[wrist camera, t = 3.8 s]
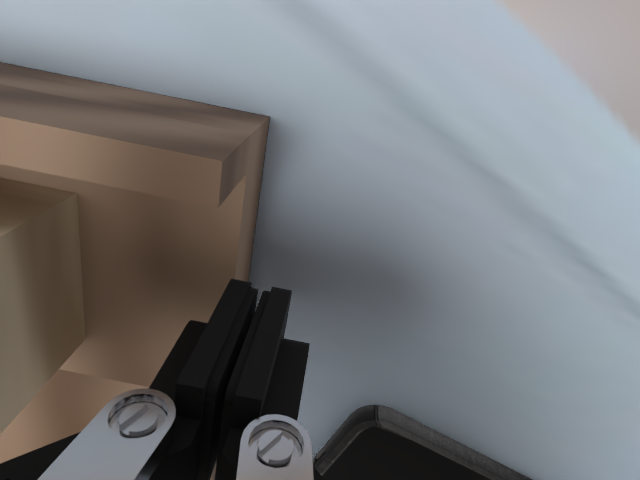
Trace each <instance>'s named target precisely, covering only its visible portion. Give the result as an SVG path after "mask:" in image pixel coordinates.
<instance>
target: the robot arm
mask: <svg viewBox="0 0 640 480" xmlns="http://www.w3.org/2000/svg"><path fill="white" fill-rule="evenodd" d="M257 294H258V289H254V288H251V282H246V281H241V280H236V279H231V280H230V281H229V283H228V285H227V287H226V289H225V291H224V293H223V294H222V296H221V298H220V300H219V302H218V304H217V306H216V308H215V310H214V312H213V313H212V315H211V317H210V319H209V321H208V323H205V322H200V321H195V320H190V321H189V322H188V323H187V325H186V326H185V328H184V330H183V331H182V333H181V335H180V336H179V338H178V340H177V342H176V343H175V345H174V347H173V348H172V350H171V352H170V353H169V355H168V357H167V358H166V360H165V362H164V363H163V365H162V367H161V368H160V370H159V372H158V373H157V375H156V377H155V379H154V380H153V382H152V384H151V385H150V387H149V388H142V389H134V390H130V391H126V392H124V393H122V394H120V395H118V396H116V397H114V398H113V399H112V400H111V401H109V402H108V403H107V404H106V405H105V406H104V407H103V408H102V409H101V411H100V412H99V413H98V414H97V415H96V416H95V417H94V418H93V419H92V420H91V422H90V423H89V424H88V425H87V426H86V427H85V428H84V429H83V430H82V431H81V432H79V433H76V434H74V435H71V436H69V437H66V438H64V439H61V440H58V441H56V442H53V443H51V444H48V445H46V446H43V447H41V448H38V449H36V450H33V451H31V452H28V453H26V454H23V455H21V456H18V457H15V458H13V459H10V460H8V461H5V462H3V463H0V480H210V478H211V475H212V472H213V469H214V466H215V463H216V460H217V463H216V472H215V480H325V479H324V478H323V477H322V476H321V474H320V473H319V472H318V471H317V470H316V468H315V467H314V466H313V459H312V444H311V440H310V436H309V434H308V432H307V431H306V429H305V428H304V427H303V426H302V425H301V424H300V423H299V422H298V421H297V418H298V412H299V406H300V400H301V394H302V388H303V381H304V375H305V369H306V363H307V357H308V351H309V345H310V344H309V343H304V342H299V341H294V340H289V339H284V333H285V327H286V322H287V316H288V311H289V305H290V300H291V294H292V291H291V290H286V289H281V288H276V287H272V289H271V292H269V291H263V293H262V296H261V298H260V301H259V304H258V306H257V309H256V312H255V308H256V301H257Z"/></svg>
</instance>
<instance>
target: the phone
mask: <svg viewBox="0 0 640 480" xmlns="http://www.w3.org/2000/svg"><path fill="white" fill-rule="evenodd" d="M343 427H344V429H343V430H342V428H343ZM325 451H326V452H325ZM324 452H325V454H324V455H323V453H324ZM322 455H323V456H322ZM321 456H322V457H321ZM320 457H321V458H320ZM319 458H320V459H319ZM318 459H319V461H318V462H317V460H318ZM313 466H314V467H315V468H316V470H317V471H318V472H319V473H320V474H321V476H322V477H323V478H324V479H325V480H532V479H530V478H528V477H526V476H524V475H522V474H520V473H518V472H516V471H514V470H512V469H510V468H508V467H506V466H504V465H502V464H500V463H498V462H496V461H494V460H492V459H490V458H488V457H486V456H484V455H482V454H480V453H478V452H476V451H474V450H472V449H470V448H468V447H466V446H464V445H462V444H460V443H458V442H456V441H454V440H452V439H450V438H448V437H446V436H444V435H442V434H441V433H439V432H437V431H435V430H433V429H431V428H429V427H427V426H425V425H423V424H421V423H419V422H417V421H415V420H413V419H411V418H409V417H407V416H405V415H403V414H401V413H399V412H397V411H395V410H393V409H390V408H388V407H385V406H379V405H370V406H364V407H362V408H359V409H357V410H356V411H354V412H353V413H352V414H351V415H350V416H349V417H348V418H347V420H346V421H345V422H344V423H343V424H342V426H341V427H340V428H339V429H338V430H337V431H336V433H335V434H334V435H333V436H332V437H331V439H330V440H329V441H328V442H327V443H326V444H325V446H324V447H323V448H322V449H321V450H320V451H319V453H318V454H317V455H316V456H315V457H314V459H313Z"/></svg>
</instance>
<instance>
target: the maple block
mask: <svg viewBox="0 0 640 480" xmlns="http://www.w3.org/2000/svg"><path fill="white" fill-rule="evenodd" d="M84 340H85V322H84V305H83V287H82V270H81V253H80V236H79V219H78V202H77V193H75V192H70V191H66V190H61V189H56V188H51V187H46V186H41V185H36V184H31V183H26V182H21V181H16V180H11V179H6V178H1V177H0V434H1V433H2V432H3V431H4V430H5V429H6V428H7V426H8V425H9V424H10V423H11V422H12V421H13V420H14V419H15V417H16V416H17V415H18V414H19V413H20V412H21V411H22V410H23V409H24V407H25V406H26V405H27V404H28V403H29V402H30V401H31V400H32V398H33V397H34V396H35V395H36V394H37V393H38V392H39V391H40V390H41V388H42V387H43V386H44V385H45V384H46V383H47V382H48V381H49V379H50V378H51V377H52V376H53V375H54V374H55V373H56V372H57V371H58V369H59V368H60V367H61V366H62V365H63V364H64V363H65V362H66V360H67V359H68V358H69V357H70V356H71V355H72V354H73V353H74V352H75V350H76V349H77V348H78V347H79V346H80V345H81V344H82V343H83V341H84Z"/></svg>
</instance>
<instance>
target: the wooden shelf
mask: <svg viewBox="0 0 640 480" xmlns="http://www.w3.org/2000/svg"><path fill="white" fill-rule="evenodd" d="M269 119H270V117H269V116H264V115H259V114H254V113H249V112H244V111H239V110H234V109H229V108H224V107H219V106H214V105H209V104H204V103H199V102H194V101H189V100H184V99H179V98H175V97H170V96H165V95H160V94H155V93H150V92H145V91H140V90H135V89H130V88H125V87H120V86H115V85H110V84H105V83H100V82H95V81H90V80H85V79H80V78H75V77H70V76H66V75H61V74H56V73H51V72H46V71H41V70H36V69H31V68H26V67H21V66H16V65H11V64H6V63H1V62H0V177H1V178H6V179H11V180H16V181H21V182H26V183H31V184H36V185H41V186H46V187H51V188H56V189H61V190H66V191H70V192H75V193H77V202H78V219H79V236H80V253H81V270H82V287H83V305H84V322H85V340H84V341H83V343H82V344H81V345H80V346H79V347H78V348H77V349H76V350H75V352H74V353H73V354H72V355H71V356H70V357H69V358H68V359H67V360H66V362H65V363H64V364H63V365H62V366H61V367H60V368H59V369H58V371H57V372H56V373H55V374H54V375H53V376H52V377H51V378H50V379H49V381H48V382H47V383H46V384H45V385H44V386H43V387H42V388H41V390H40V391H39V392H38V393H37V394H36V395H35V396H34V397H33V398H32V400H31V401H30V402H29V403H28V404H27V405H26V406H25V407H24V409H23V410H22V411H21V412H20V413H19V414H18V415H17V416H16V417H15V419H14V420H13V421H12V422H11V423H10V424H9V425H8V426H7V428H6V429H5V430H4V431H3V432H2V433H1V434H0V463H3V462H5V461H8V460H10V459H13V458H15V457H18V456H21V455H23V454H26V453H28V452H31V451H33V450H36V449H38V448H41V447H43V446H46V445H48V444H51V443H53V442H56V441H58V440H61V439H64V438H66V437H69V436H71V435H74V434H76V433H79V432H81V431H82V430H83V429H84V428H85V427H86V426H87V425H88V424H89V423H90V422H91V420H92V419H93V418H94V417H95V416H96V415H97V414H98V413H99V412H100V411H101V409H102V408H103V407H104V406H105V405H106V404H107V403H108V402H109V401H111V400H112V399H113V398H114V397H116V396H118V395H120V394H122V393H124V392H126V391H130V390H134V389H142V388H149V387H150V385H151V384H152V382H153V380H154V379H155V377H156V375H157V373H158V372H159V370H160V368H161V367H162V365H163V363H164V362H165V360H166V358H167V357H168V355H169V353H170V352H171V350H172V348H173V347H174V345H175V343H176V342H177V340H178V338H179V336H180V335H181V333H182V331H183V330H184V328H185V326H186V325H187V323H188V322H189V321H190V320H195V321H200V322H205V323H208V321H209V319H210V317H211V315H212V313H213V312H214V310H215V308H216V306H217V304H218V302H219V300H220V298H221V296H222V294H223V293H224V291H225V289H226V287H227V285H228V283H229V281H230V280H231V279H236V280H241V281H246V282H248V280H249V273H250V265H251V257H252V250H253V242H254V234H255V227H256V219H257V211H258V204H259V196H260V188H261V181H262V173H263V165H264V158H265V150H266V142H267V135H268V127H269ZM216 463H217V460H216ZM216 463H215V466H214V469H213V472H212V475H211V478H210V480H215V472H216Z"/></svg>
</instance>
